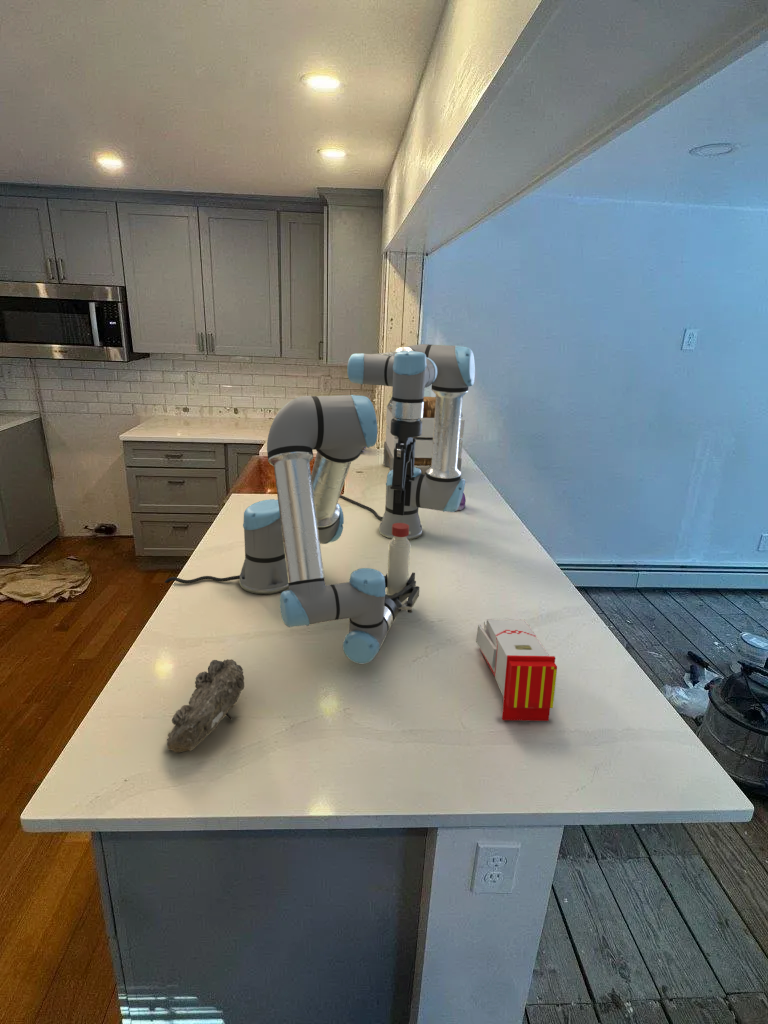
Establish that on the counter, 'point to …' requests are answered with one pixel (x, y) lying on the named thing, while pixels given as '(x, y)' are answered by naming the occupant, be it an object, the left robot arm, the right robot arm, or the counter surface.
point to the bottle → (398, 565)
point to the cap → (400, 530)
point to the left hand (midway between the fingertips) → (402, 575)
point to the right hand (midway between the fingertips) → (401, 509)
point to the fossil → (206, 705)
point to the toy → (519, 668)
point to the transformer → (423, 441)
